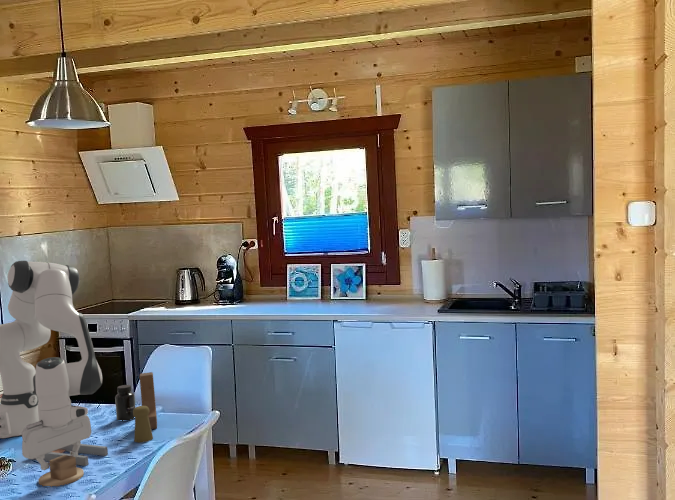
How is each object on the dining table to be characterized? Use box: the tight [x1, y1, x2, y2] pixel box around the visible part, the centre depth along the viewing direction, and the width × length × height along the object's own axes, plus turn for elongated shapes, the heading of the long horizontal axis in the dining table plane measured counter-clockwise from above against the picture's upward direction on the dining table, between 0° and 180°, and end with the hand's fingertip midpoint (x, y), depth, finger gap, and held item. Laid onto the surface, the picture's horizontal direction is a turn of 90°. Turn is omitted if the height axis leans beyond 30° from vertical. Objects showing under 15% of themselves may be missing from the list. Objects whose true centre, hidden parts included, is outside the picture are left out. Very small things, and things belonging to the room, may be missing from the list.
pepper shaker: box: [133, 405, 154, 444], centre depth 224 cm, size 6×6×11 cm
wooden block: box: [138, 371, 158, 430], centre depth 237 cm, size 9×4×18 cm, turn 15°
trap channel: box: [33, 443, 109, 467], centre depth 212 cm, size 24×9×2 cm, turn 66°
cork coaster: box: [38, 466, 85, 488], centre depth 195 cm, size 12×12×1 cm
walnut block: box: [48, 455, 77, 481], centre depth 194 cm, size 5×5×5 cm
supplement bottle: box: [114, 384, 136, 422], centre depth 248 cm, size 7×7×12 cm
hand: (60, 463), depth 195 cm, fingers open, 8 cm apart
